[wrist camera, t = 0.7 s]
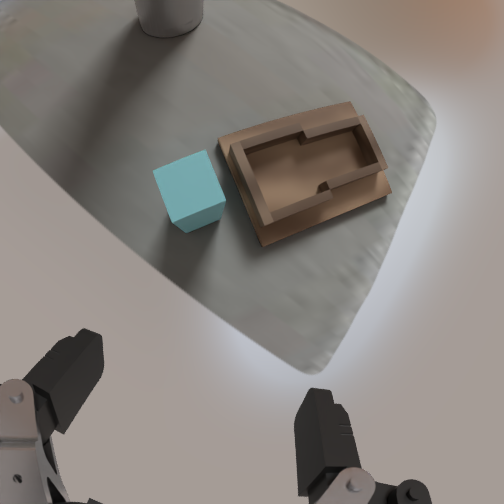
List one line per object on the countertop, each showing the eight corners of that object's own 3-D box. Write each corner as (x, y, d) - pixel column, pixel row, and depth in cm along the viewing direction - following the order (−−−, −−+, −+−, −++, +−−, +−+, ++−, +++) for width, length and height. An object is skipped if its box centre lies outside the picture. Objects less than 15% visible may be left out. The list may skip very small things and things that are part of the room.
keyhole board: (217, 141, 32) (218, 129, 28) (347, 104, 34) (358, 93, 31) (261, 247, 33) (267, 246, 29) (388, 194, 35) (403, 189, 31)
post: (173, 199, 31) (152, 170, 19) (207, 185, 32) (205, 149, 20) (186, 233, 32) (172, 222, 20) (220, 219, 32) (226, 200, 20)
